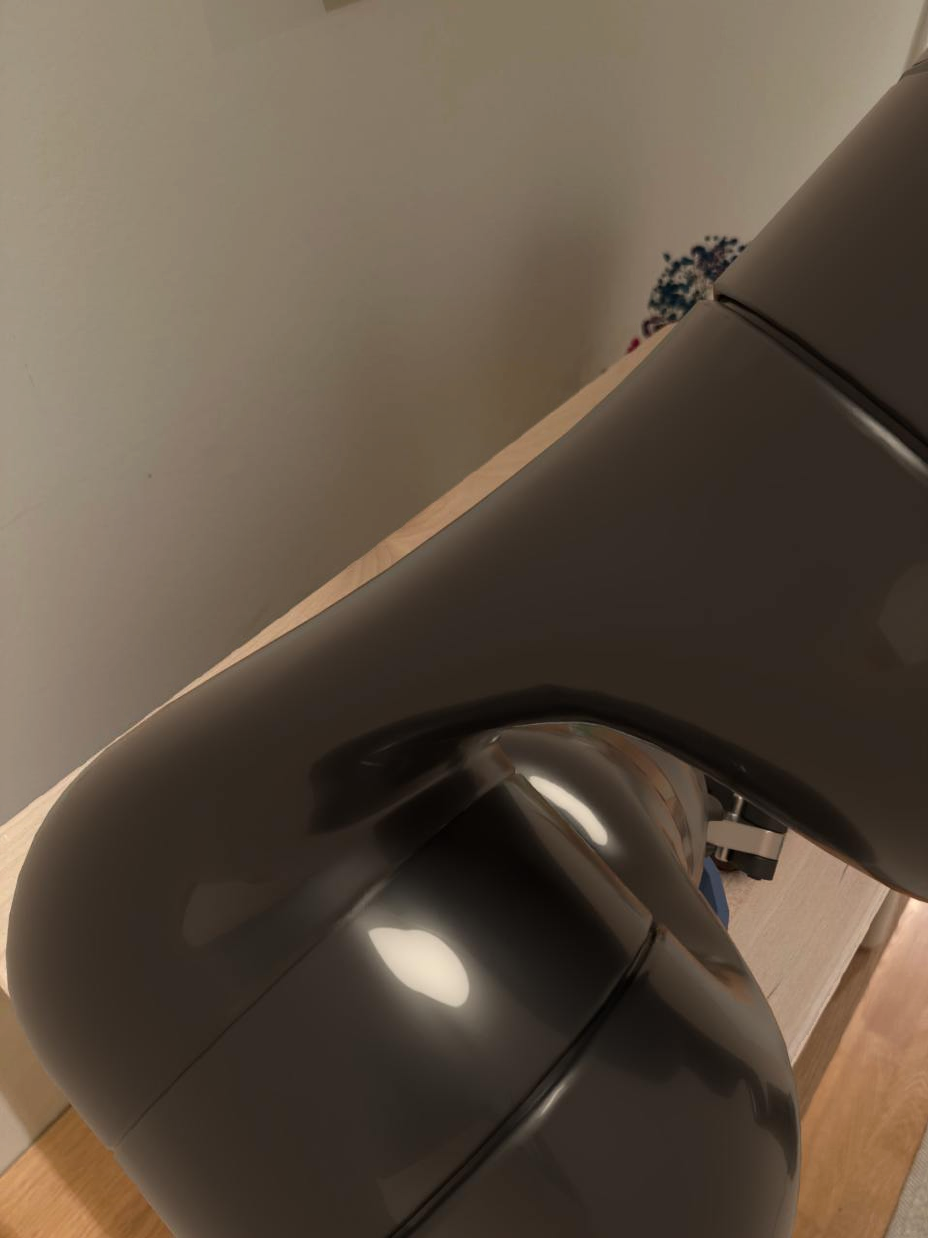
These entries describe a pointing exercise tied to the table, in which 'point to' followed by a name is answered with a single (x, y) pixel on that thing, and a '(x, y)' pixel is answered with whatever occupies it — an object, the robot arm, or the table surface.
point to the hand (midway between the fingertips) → (624, 760)
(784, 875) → the table surface
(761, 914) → the table surface
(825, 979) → the table surface
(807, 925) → the table surface
